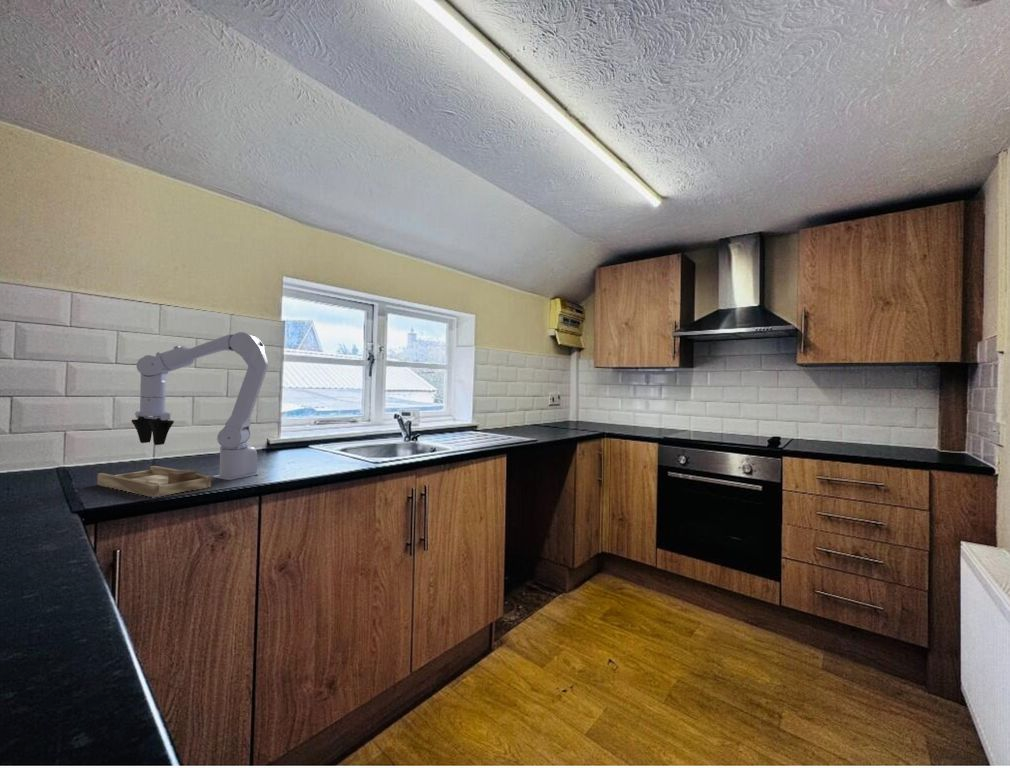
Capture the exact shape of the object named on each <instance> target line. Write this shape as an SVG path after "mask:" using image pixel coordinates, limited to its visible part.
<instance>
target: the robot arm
mask: <svg viewBox="0 0 1010 768" xmlns="http://www.w3.org/2000/svg"><path fill="white" fill-rule="evenodd" d="M223 351H228V352H235V353H236V354H238V355H239V356H240V357H242V359H243V361H244V362H245V363H246V365H247V369H246V373H245V374H244V377H243V381H242V383H241V387H240V389H239V391H238V395H237V398H236V401H235V404H234V406H233V410H232V412H231V415H230V417H229V418H228V419H227V420H226V422H225V424H224V425H225V426H224V427H223V428H222V429H221V430H220V431H219V432H218V434H217V439H216V440H217V442H218V444H219V446H220V447H219V448H220V449H219V474H216V475H212V477H213V478H214V479H219V480H226V481H231V480H232V481H233V480H238V479H243V478H248V477H253V476H258V475H259V472H258V452H257V449H256V447H254V446H253V445H249V444H248V443H247V442H248V441H249V439H250V437H251V431H250V428H251V424H252V423H251V417H252V414H253V411H254V408H255V406H256V402H257V399H258V396H259V394H260V392H261V388H262V385H263V382H264V380H265V377H266V373H267V372H268V368H269V361H268V357H267V355H266V350H265V345H264V344H263V342H262V341H261V340H260V338H258V337H257V336H255V335H252V334H249V333H247V332H243V331H239V332H236V333H233V334H227V335H224V336H221V337H218V338H215V339H213V340H210V341H206V342H205V343H204V342H203V343H201V344H198V345H196V346H193V347H187V346H180V345H175V346H173V349H170V350H168V351H167V350H166V351H164V352H160V351H159V352H155V356H154V355H147V354H146V355H144V356H141V358H139V359H138V360H137V362H136V370H137V372H139V373H140V391H139V392H140V394H139V397H140V398H139V404H140V406H139V410H137V411H135V413H134V415H135V419H131V423H132V425H134V427H135V430H136V432H137V435H138V439H139V442H140V444H147V443H150V442H151V441H153V444H154V446H161V445H165V442H166V439H167V437H168V433H169V432H170V429H171V427H172V426H173V425H174V423H175V421H174V420H171V413H169V412H166V394H167V393H166V385H167V382H166V380H167V379H166V378H167V374H168V373H169V372H172V371H176V370H179V369H182V368H186V367H187V366H191V365H193V364H194V363H195V361H196V360H197V359H198V358H203V357H205V356H209V355H213V354H216V353H219V352H223ZM152 438H153V439H152Z"/></svg>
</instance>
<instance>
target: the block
mask: <svg viewBox="0 0 1010 768" xmlns="http://www.w3.org/2000/svg"><path fill="white" fill-rule="evenodd" d="M180 470H181V469H180ZM196 477H197V470H192V469H182V470H181V471H174V472H168V484H173V483H179V482H184V481H190V480H196Z"/></svg>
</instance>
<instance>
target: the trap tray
mask: <svg viewBox="0 0 1010 768" xmlns="http://www.w3.org/2000/svg"><path fill="white" fill-rule="evenodd" d="M174 471H181V469H175V468H170V467H165V466H160V465H159V466H158V465H152V466H151V465H150V467H149V469H147V470H141V471H134V472H126V473H120V474H109V473H105V472H99V473H97V482H96V483H97V486H100V487H103V488H104V487H105V488H108V487H109V488H108V489H112V488H114V489H113V490H116V489H118V490H117V491H120V490H123V491H122V492H124V491H127V492H126V493H128V492H132V493H136V494H141V495H146V496H152V497H154V496H162V495H167V494H173V493H179V492H184V491H189V492H192V491H191V490H194V491H197V490H196V489H199V490H203V488H204V489H209V488H211V487H212V476H211V475H208V474H202V473H197V477H196V480H190V481H184V482H179V483H173V484H168V472H174ZM208 487H209V488H208ZM132 493H131V494H132ZM184 493H185V492H184ZM136 494H135V495H136ZM179 494H180V493H179ZM141 495H140V496H141Z"/></svg>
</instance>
